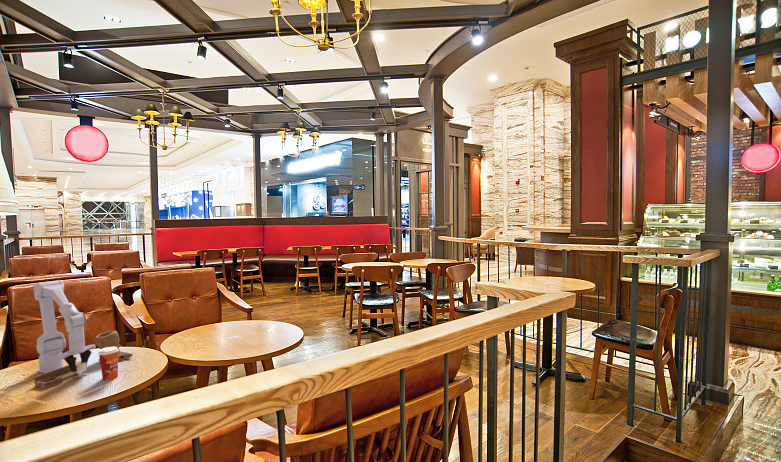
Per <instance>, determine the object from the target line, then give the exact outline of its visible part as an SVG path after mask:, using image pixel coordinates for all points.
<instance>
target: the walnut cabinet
mask: <svg viewBox="0 0 781 462" xmlns="http://www.w3.org/2000/svg"><path fill="white" fill-rule="evenodd" d="M63 366H64V367H61V368H59V369H56V370H53V371H50V372H47V373H42V374H38V375H36V376H34V377H33V378H34V387H35V388H38V389H39V388H40V389H43V390H47V389H50V388H53V387H54V386H57V385H60V384H62V383H63V382H64V381H67V380H69V379H74V380H79V379H82V378H85V377H87V376H88V375H87V374H83V373H78V374H75V373H72V372H71V369H70V367H69V365H68V364H67V365H63Z"/></svg>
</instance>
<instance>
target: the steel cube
mask: <svg viewBox="0 0 781 462" xmlns="http://www.w3.org/2000/svg"><path fill="white" fill-rule="evenodd" d="M75 366H76V371H74V372H73V371H71V372H72V373H75V374H78V373H79V374H82V373H84V372H86V371H87V366H86V362H83V361H81V360H80V361H76V363H75Z"/></svg>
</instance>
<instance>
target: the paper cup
mask: <svg viewBox="0 0 781 462" xmlns="http://www.w3.org/2000/svg"><path fill="white" fill-rule="evenodd" d="M119 350H120V348H119V349H118V348H117V347H107V348H103V349H101V350H100V349H99V351H98V353H97V355H99V363H100V364H99V365H100V369H101V376H102V377H101V378H102V381H112V380H114V379H116V378H117V377H118V376H119V361H118V351H119Z"/></svg>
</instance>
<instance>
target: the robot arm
mask: <svg viewBox="0 0 781 462" xmlns="http://www.w3.org/2000/svg"><path fill="white" fill-rule="evenodd" d="M64 291H65V284H64V282H63V281H62V280H61V279H58V280H53V281H45V282H37V283H35V285H34V287H33V295H34V301H35V300H36V301H39V308H40V310H39V311H40V316H41V324H42V331H43V332H42V334H41V335H40V336H39V337H38V338H37V339H36V351H37V353H38V354H39V356H38V370H36V372H38V373H42V374H44V373H47V372H50V371H53V370H56V369H59V368H61V367H64V366H65V365H64V364H63V363H64V362H63V360H64V361H65V362H66V363H67V365H69V367H70V369H71V371H73V372H74V371H76V366H75V363H76V362H77V357H76V355H79V356H80V361H83V362H86V367H87V366H88V362H89V359H90V357H91V355H92V353H93V352H92V350H96V348H97V347H96V346H97V345H96V344H88V345H86V341H85V339H86V337H85V325H86V324H87V317H86V315H85V314H84V313H83V312H81V311H79V310H78V309H77V307H76V306H75V304H74V303H73V302H69V299H68V298H67V297H66V295H65V293H64ZM54 302H55V303H56V305H58V312H59V313H60V314H61V316H62V317H63V319H64V323H63V324H64V326H65V328H66V329H65V330H66V332H67V333H68V348H69V350H68V351H65V352H63V351H64V349H65V348H66V346H67V341H66V339H65V334H64V333H63V332H60V331H58V329H57V322H56V314H55V305H54Z"/></svg>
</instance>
